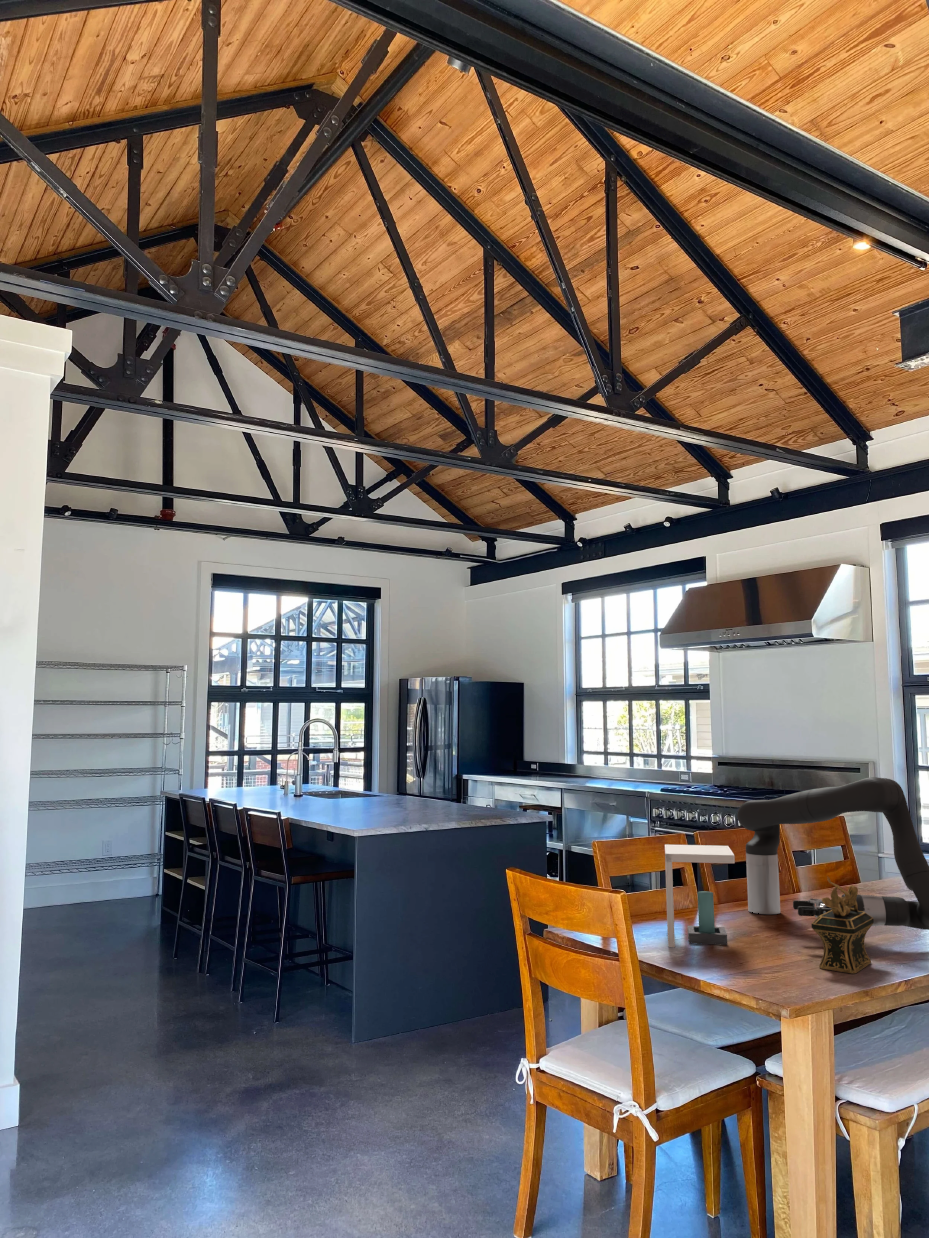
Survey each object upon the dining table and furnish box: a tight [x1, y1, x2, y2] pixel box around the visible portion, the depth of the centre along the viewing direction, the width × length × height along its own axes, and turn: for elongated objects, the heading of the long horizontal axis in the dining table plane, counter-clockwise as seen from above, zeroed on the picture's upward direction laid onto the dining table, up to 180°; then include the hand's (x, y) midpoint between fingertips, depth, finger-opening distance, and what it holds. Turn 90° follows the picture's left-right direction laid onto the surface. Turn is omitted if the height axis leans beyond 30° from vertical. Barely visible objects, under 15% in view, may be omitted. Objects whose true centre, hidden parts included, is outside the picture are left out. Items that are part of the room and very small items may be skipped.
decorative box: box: [810, 875, 874, 975], centre depth 204 cm, size 20×10×20 cm, turn 140°
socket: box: [687, 925, 728, 946], centre depth 230 cm, size 10×10×2 cm
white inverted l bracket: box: [664, 843, 736, 948], centre depth 232 cm, size 20×17×23 cm
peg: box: [696, 890, 716, 933], centre depth 231 cm, size 4×4×12 cm
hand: (795, 907), depth 227 cm, fingers open, 8 cm apart
